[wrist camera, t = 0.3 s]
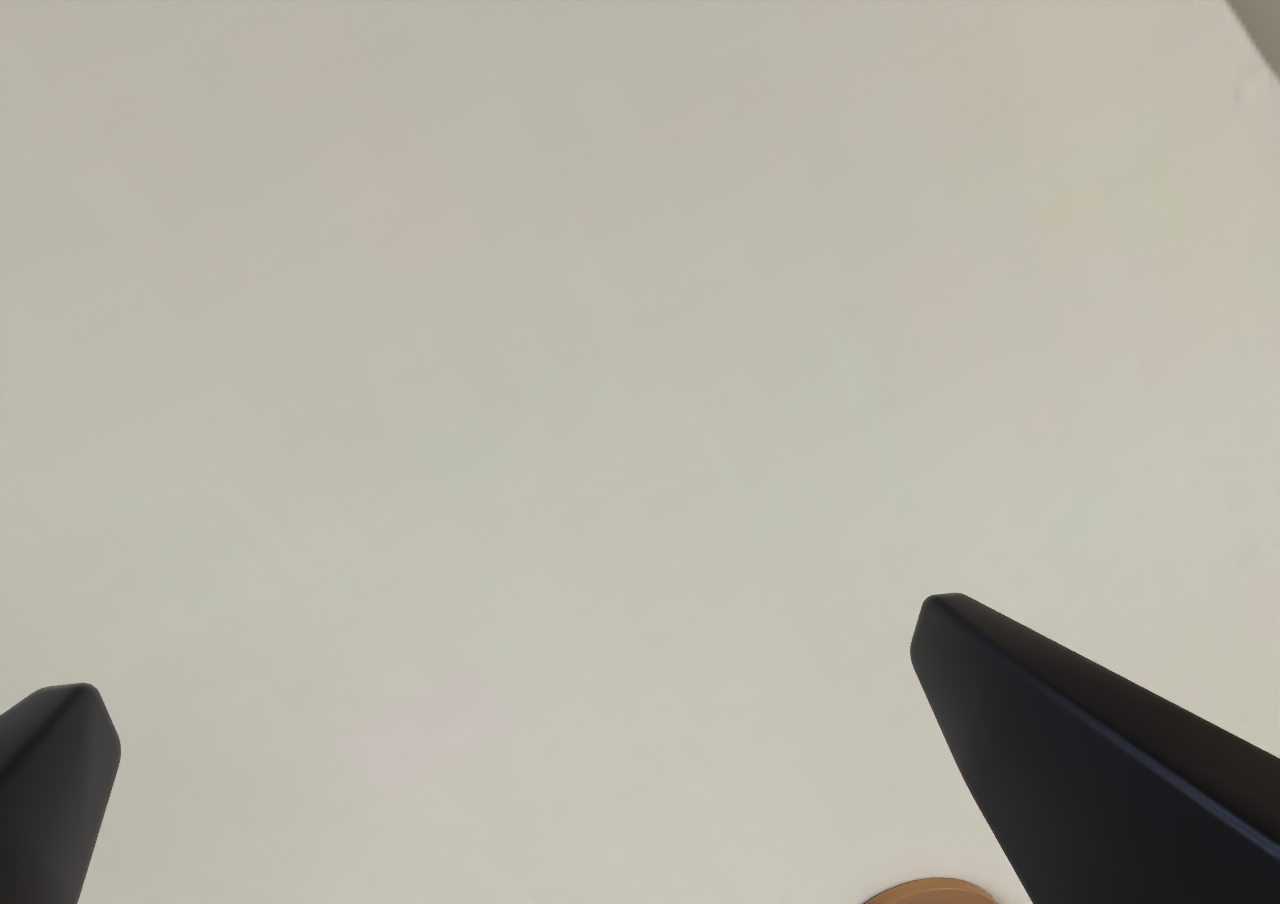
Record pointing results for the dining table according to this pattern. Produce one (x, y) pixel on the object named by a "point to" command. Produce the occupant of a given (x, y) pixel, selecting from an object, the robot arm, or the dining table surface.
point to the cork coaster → (934, 893)
